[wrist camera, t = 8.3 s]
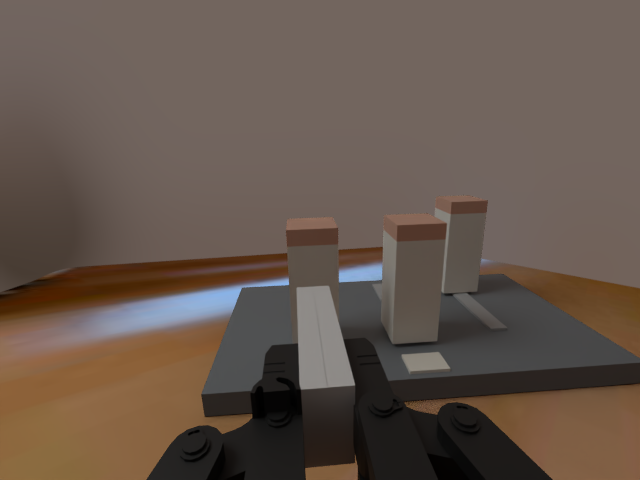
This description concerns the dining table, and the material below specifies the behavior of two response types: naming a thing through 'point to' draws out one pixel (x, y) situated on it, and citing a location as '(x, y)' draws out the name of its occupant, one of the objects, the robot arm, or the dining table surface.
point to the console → (431, 345)
